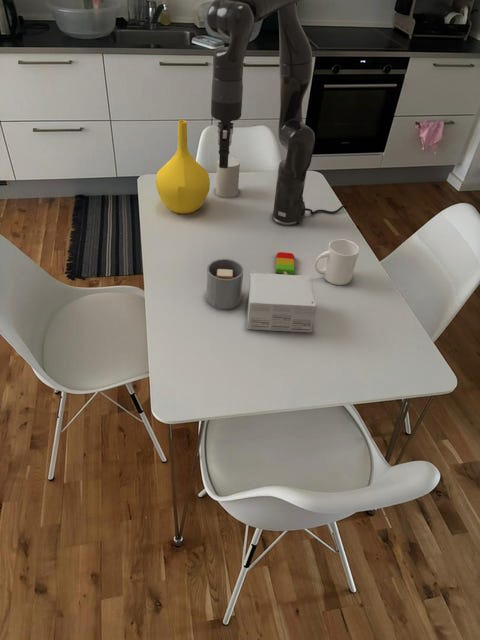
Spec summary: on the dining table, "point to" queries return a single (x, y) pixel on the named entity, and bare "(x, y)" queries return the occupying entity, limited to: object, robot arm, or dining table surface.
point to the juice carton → (224, 274)
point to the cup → (228, 178)
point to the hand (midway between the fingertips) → (224, 160)
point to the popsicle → (285, 263)
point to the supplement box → (281, 302)
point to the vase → (182, 178)
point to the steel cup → (224, 284)
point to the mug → (339, 261)
